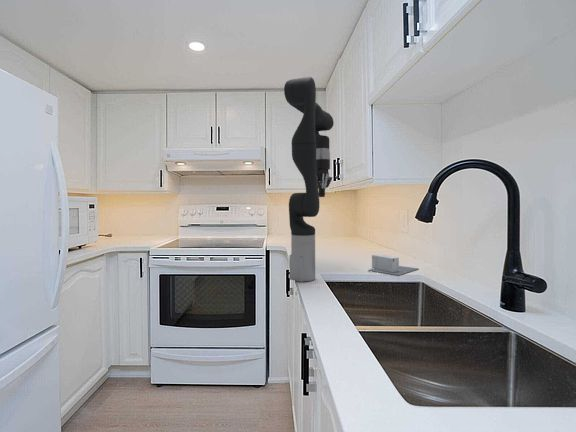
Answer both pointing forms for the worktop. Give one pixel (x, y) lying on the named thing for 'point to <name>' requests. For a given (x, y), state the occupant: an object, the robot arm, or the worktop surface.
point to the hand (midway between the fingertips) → (321, 196)
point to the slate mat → (401, 271)
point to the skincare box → (385, 263)
